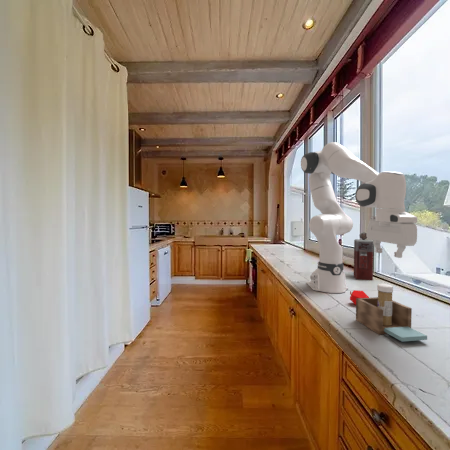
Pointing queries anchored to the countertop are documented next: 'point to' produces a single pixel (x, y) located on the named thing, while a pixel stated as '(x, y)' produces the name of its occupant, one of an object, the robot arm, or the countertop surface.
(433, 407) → the countertop surface
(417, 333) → the panel
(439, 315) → the countertop surface
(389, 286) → the sprinkles bottle
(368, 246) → the toy vending machine
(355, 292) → the apple
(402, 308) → the crate
